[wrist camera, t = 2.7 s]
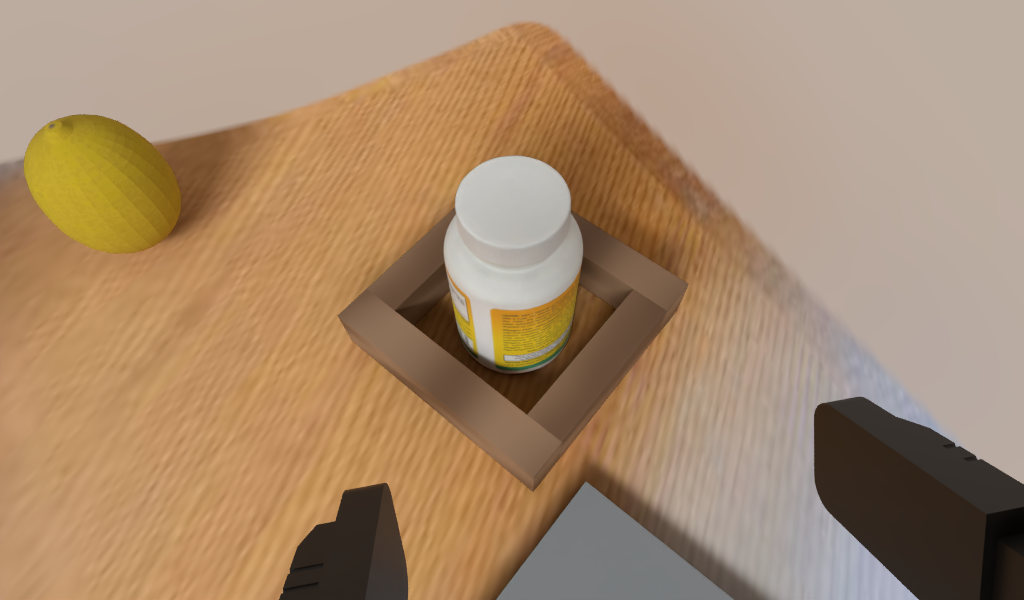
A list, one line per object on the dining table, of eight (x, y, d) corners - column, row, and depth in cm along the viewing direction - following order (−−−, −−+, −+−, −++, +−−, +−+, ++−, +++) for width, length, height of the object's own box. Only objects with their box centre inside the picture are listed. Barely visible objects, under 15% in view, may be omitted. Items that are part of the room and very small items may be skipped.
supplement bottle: (437, 346, 29) (401, 223, 20) (494, 261, 31) (482, 120, 23) (539, 398, 27) (545, 289, 19) (590, 305, 30) (616, 172, 21)
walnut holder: (351, 340, 29) (337, 315, 27) (501, 197, 33) (500, 165, 31) (533, 491, 25) (533, 477, 23) (676, 310, 29) (688, 284, 27)
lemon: (109, 203, 33) (-1, 87, 26) (212, 190, 34) (131, 72, 27) (90, 290, 31) (-38, 185, 24) (202, 274, 31) (109, 167, 24)
